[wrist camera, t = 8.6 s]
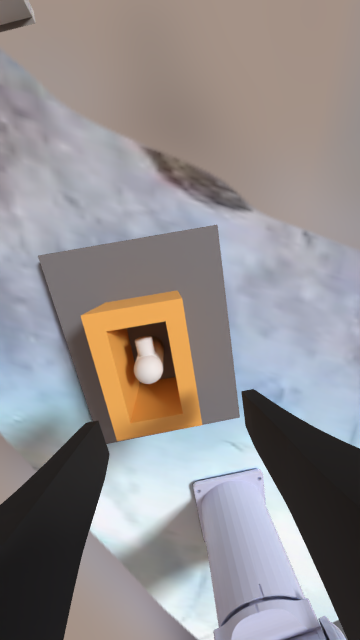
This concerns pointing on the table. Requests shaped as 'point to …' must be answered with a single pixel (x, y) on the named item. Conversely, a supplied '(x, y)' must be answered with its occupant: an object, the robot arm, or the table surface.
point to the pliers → (15, 14)
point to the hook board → (152, 339)
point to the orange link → (118, 364)
